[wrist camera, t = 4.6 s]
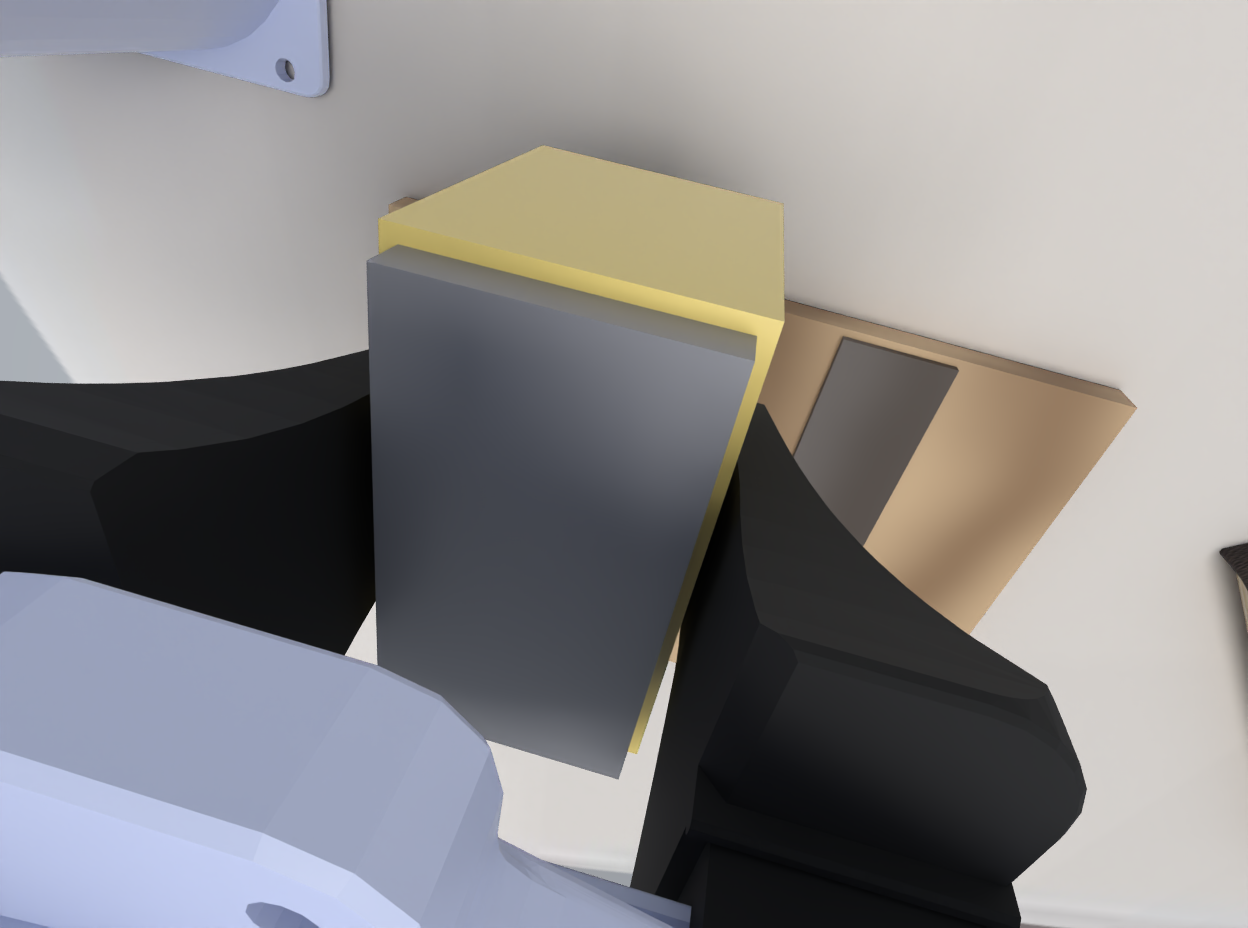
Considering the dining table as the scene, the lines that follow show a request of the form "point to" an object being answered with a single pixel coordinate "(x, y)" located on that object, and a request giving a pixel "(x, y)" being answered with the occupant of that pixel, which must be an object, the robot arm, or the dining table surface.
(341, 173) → the dining table surface
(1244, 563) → the hardcover book
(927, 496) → the board
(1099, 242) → the dining table surface
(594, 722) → the block
